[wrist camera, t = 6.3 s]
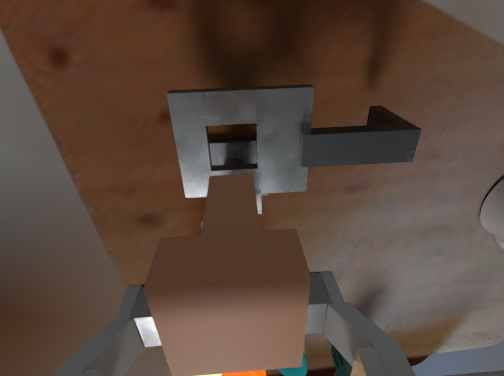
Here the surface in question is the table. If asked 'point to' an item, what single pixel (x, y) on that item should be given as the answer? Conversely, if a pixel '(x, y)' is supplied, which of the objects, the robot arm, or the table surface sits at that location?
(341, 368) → the beverage bottle
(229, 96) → the grey windowed jig
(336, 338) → the robot arm
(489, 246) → the table surface
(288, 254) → the brown block
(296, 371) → the ornament
